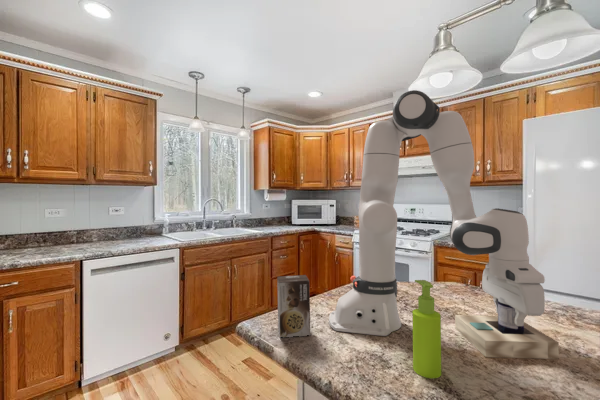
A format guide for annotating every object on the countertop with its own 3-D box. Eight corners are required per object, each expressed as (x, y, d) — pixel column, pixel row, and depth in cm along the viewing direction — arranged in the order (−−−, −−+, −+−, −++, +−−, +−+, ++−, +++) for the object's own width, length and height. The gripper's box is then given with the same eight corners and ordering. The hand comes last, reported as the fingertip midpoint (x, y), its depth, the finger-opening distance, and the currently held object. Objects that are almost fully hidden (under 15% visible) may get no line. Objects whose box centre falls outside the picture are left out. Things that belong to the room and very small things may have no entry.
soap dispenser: (431, 360, 70) (430, 277, 70) (446, 378, 63) (445, 286, 63) (407, 361, 69) (406, 278, 69) (420, 378, 62) (419, 286, 62)
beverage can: (529, 348, 75) (528, 302, 75) (504, 346, 76) (504, 301, 76) (516, 338, 80) (516, 295, 80) (494, 336, 81) (493, 294, 81)
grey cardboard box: (306, 326, 89) (306, 274, 89) (310, 336, 83) (310, 280, 83) (277, 328, 88) (276, 275, 88) (279, 338, 81) (278, 281, 81)
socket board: (485, 357, 71) (485, 339, 71) (455, 328, 87) (455, 313, 87) (558, 358, 70) (558, 341, 70) (514, 329, 86) (514, 314, 86)
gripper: (475, 260, 89) (476, 305, 89) (522, 278, 68) (523, 336, 68) (497, 260, 88) (497, 305, 88) (550, 278, 68) (551, 337, 68)
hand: (509, 319), depth 78 cm, fingers open, 6 cm apart
